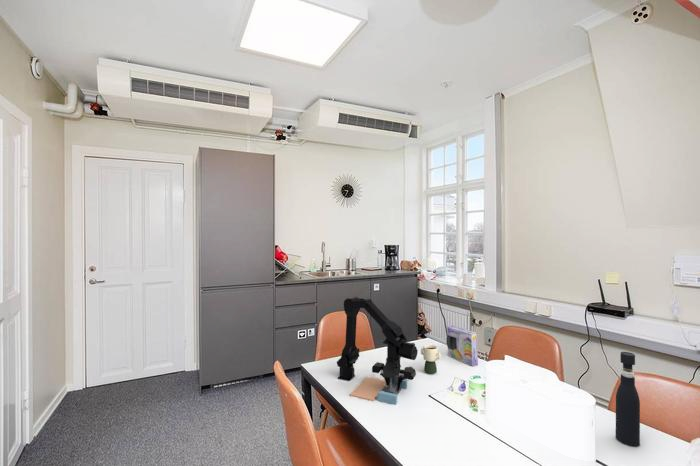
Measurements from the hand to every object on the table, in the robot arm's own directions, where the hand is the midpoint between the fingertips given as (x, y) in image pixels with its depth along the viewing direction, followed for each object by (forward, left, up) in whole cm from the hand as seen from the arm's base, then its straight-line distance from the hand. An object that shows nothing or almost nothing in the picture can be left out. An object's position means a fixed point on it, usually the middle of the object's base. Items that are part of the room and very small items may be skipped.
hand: (393, 389), depth 148 cm
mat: (-11, 0, -2) cm, 11 cm away
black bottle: (+83, +3, -2) cm, 83 cm away
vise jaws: (0, 0, -2) cm, 2 cm away
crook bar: (0, -1, -2) cm, 2 cm away
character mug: (+10, +30, -2) cm, 31 cm away
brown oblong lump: (+1, +18, -2) cm, 18 cm away
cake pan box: (+22, +54, -2) cm, 58 cm away
